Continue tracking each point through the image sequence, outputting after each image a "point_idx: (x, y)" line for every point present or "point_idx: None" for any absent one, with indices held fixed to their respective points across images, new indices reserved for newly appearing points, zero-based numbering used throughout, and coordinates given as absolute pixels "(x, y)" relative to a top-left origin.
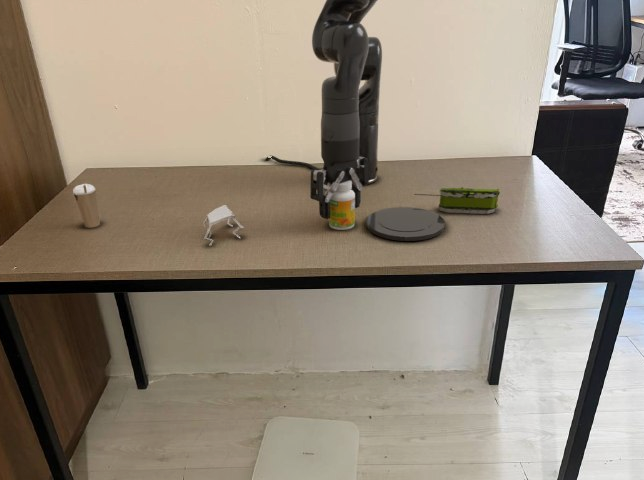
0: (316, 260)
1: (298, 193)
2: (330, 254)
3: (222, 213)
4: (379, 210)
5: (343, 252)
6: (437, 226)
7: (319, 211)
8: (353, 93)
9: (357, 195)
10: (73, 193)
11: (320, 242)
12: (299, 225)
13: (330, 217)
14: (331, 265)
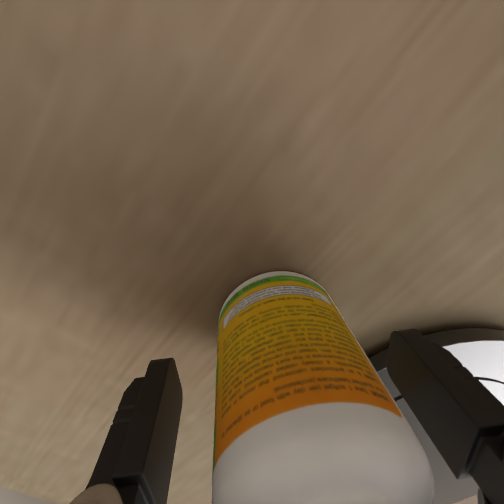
0: (26, 465)
1: None
2: (90, 456)
3: None
4: (480, 341)
5: None
6: (447, 497)
7: (119, 407)
8: None
9: (437, 448)
10: None
11: (103, 385)
12: (99, 190)
13: (217, 349)
14: (58, 496)
